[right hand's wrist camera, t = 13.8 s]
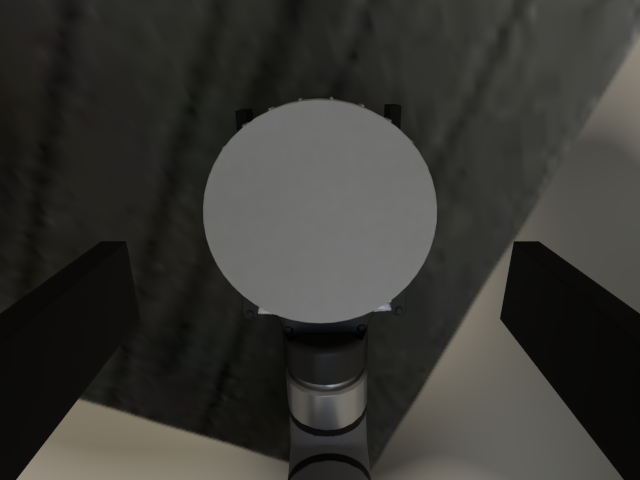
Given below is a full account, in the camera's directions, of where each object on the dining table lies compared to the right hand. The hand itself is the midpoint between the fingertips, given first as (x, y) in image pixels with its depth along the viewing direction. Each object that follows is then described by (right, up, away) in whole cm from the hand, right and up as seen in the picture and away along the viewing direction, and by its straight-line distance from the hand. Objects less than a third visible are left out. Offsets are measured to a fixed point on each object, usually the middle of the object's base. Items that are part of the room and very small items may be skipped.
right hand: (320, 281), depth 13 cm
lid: (0, +2, +6) cm, 6 cm away
